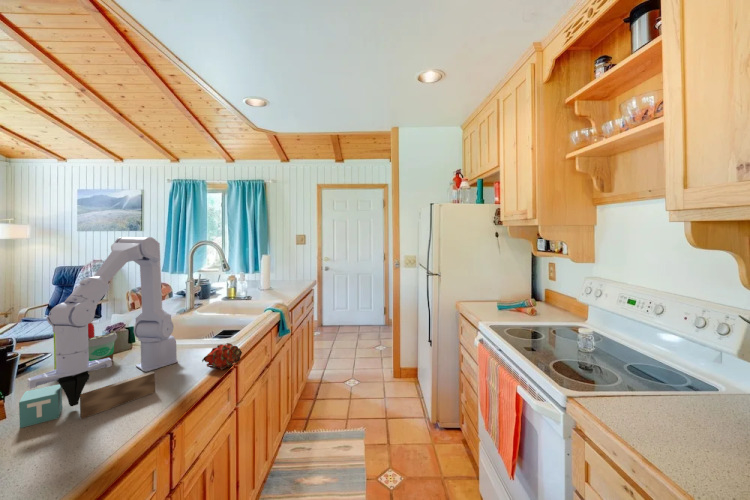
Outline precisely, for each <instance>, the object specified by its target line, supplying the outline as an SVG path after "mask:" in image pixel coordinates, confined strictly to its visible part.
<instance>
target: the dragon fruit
mask: <svg viewBox="0 0 750 500" xmlns="http://www.w3.org/2000/svg"><path fill="white" fill-rule="evenodd" d="M242 353H243V352H242V349H241V348H239V347H238V346H237V345H233V344H232V343H229V342H227V343H226V344H221V343H220V344H218V345H216V346H215V347H213V348H212V349H211V351H210V352H209V353H207V354H206V355H205V356H204V357H203V358H202V360H201V361H202V362H201V363H203V362H205V363H207V364H206V367H207V368H210V369H213V368H216V369H220V371H223V370H224V369H226V368H231V367H233V364H237V363H238V362H240V360H241V357H242Z"/></svg>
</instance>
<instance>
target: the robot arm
mask: <svg viewBox="0 0 750 500" xmlns="http://www.w3.org/2000/svg"><path fill="white" fill-rule="evenodd" d="M160 245H161V244H160V242H159V241H158V240H156V238H154V237H151V236H147V237H141V236H139V237H135V236H133V237H132V236H119V237H117V238H116V239H115V241H114V242H113V243H112V244H111V246H110V250H111V252H110V253H109V255H108V256H107V257H106V259H105V260H104V261H103V263H102V264H101V266H100V267H99V268H98V270H97V271H96V272H95V274H94V275H93V276H89V277H86V278H83V279H81V281H80V282H79V283H78V286H77V287H76V288H75V289H74V290H73V291H72V293H71V294H70V295H69V296H68V297H66V299H65V301H63V302H61V303H58V304H57V305H55V306H54V307H52V308H51V309H50V311H49V313H48V315H47V316H46V321H47V323H48V324H49V325H50V326H51V327H52V332H53V334H54V333H55V350H56V370H54V369H53V370H50V371H47V372H44V373H41V374H37V375H35V376H32V377H27V387H28V388H29V390H30V389H31V390H32V389H36V388H37V386H41V385H45V384H49V383H53V382H55V381H56V382H57V383H58V384H60V386H61V387H62V391H64V393H65V395H66V398H67V402H68V405H69V406H70V407H74V406H77V405H79V404H80V394H83V393H82V392H83V390H84V388H85V386H86V384H87V382H88V381H89V379H90V376H91V375H90V374H89V372H93V371H97V370H100V369H103V368H109V367H112V364H113V362H112V359H110V358H105V359H100V360H95V361H89V354H88V323H90V322H91V321H92V320H94V319H95V316H96V309H97V307H98V303H99V302H100V301H101V300H102V299H103V297H105V295H106V293H107V292H108V291H109V290H110V285H109V282H110V281H111V280H112V279H113V277H115V276H116V275H117V273H118V272H119V271H121V269H122V268H123V267H124V266H125V265H126V264H127V263H129V262H134V263H136V264H137V265H138V266H139V273H140V294H141V295H140V297H141V313H140V314H138V316H136V317H135V323H134V327H133V334H134V336H135V338H137V340H138V342H140V363H137V364H135V367H136V368H138V369H140V370H141V371H143V372H144V373H149V372H152V371H153V370H156V369H160V368H163V367H166V366H169V365H173V364H176V363H178V360H177V359H178V357H177V355H178V354H177V340H176V338H175V336H174V335H172V334H173V332H174V323H173V321H172V316H171V315H172V314H170V313H169V312H167V311H165V310H164V309H163V298H162V297H163V295H162V291H163V290H162V275H161V274H162V271H161V246H160ZM91 323H92V322H91Z"/></svg>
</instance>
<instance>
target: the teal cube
mask: <svg viewBox="0 0 750 500" xmlns="http://www.w3.org/2000/svg"><path fill="white" fill-rule="evenodd" d="M18 409H19V410H18V414H19V429H22V428H26V427H29V426H34V425H37V424H41V423H45V422H49V421H52V420H57V419H59V418H60V416H61V415H60V414H61V412H62V409H63V388H62V387H61V386H60V384H59V383H58V384H53V385H49V386H45V387H40V388H33V389H31V390H30V389H29V390H26V391H25V392H24V394H23V395H22V396H21V398H20V400H19V402H18Z"/></svg>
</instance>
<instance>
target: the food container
mask: <svg viewBox="0 0 750 500" xmlns="http://www.w3.org/2000/svg"><path fill="white" fill-rule="evenodd" d="M117 339H118V335H117V333H116V331H115V330H111V329H110V333H109V332H108V333H106V334H103V335H97V336H95V337H92V338H89V339H88V354H89V361H95V360H100V359H105V358H110V359H112V363H113V361H114V351H115V342H116V340H117Z"/></svg>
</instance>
